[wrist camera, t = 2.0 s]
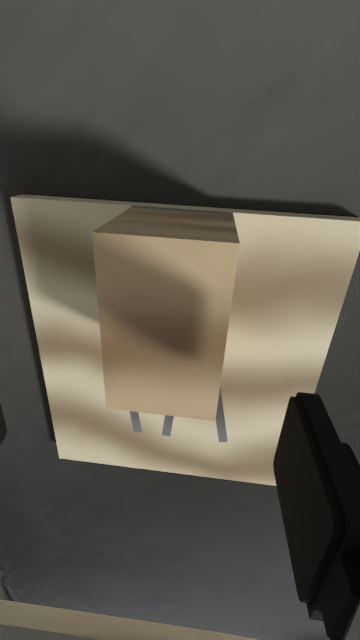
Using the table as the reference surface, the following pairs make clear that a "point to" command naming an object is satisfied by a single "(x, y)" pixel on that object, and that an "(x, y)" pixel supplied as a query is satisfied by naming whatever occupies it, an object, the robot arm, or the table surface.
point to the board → (241, 345)
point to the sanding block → (165, 308)
